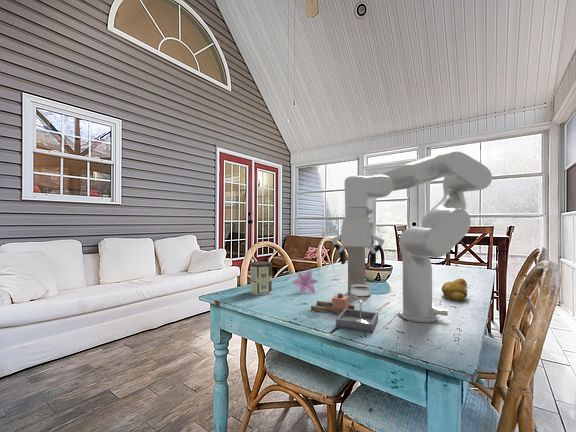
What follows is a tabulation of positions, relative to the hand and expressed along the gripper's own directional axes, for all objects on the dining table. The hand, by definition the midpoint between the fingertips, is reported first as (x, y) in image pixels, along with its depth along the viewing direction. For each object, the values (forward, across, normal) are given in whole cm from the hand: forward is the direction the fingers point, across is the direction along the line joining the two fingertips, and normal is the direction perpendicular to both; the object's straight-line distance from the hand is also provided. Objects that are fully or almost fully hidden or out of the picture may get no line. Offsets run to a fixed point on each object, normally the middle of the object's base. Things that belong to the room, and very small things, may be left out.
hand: (357, 264), depth 94 cm
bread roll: (+21, -32, -45) cm, 59 cm away
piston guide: (+20, +12, -8) cm, 24 cm away
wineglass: (+19, -1, 0) cm, 19 cm away
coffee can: (+20, +50, -21) cm, 58 cm away
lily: (+20, +31, -29) cm, 47 cm away
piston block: (+20, +9, -10) cm, 24 cm away
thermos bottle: (+20, +8, -37) cm, 43 cm away
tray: (+20, 0, 0) cm, 20 cm away
